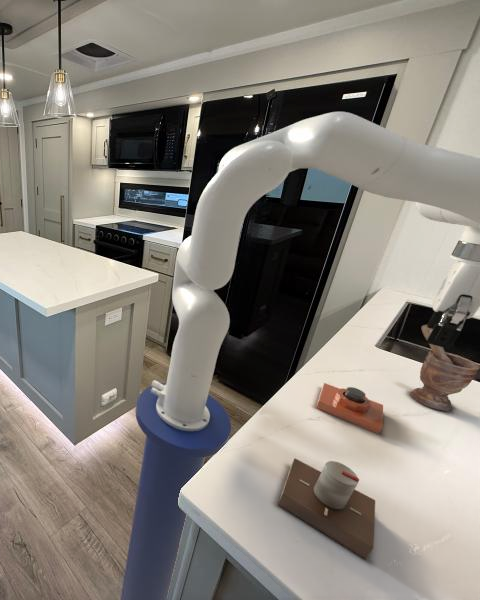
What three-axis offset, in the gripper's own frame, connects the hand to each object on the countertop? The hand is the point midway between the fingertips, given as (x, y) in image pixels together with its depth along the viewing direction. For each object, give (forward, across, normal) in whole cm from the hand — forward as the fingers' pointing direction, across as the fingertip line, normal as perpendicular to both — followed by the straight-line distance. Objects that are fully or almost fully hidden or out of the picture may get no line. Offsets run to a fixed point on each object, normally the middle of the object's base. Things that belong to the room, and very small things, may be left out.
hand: (437, 337), depth 62 cm
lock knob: (+22, +33, -6) cm, 40 cm away
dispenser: (+25, -2, -7) cm, 26 cm away
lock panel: (+25, +33, -6) cm, 42 cm away
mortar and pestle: (+25, -22, +6) cm, 34 cm away
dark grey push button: (+21, -2, -7) cm, 23 cm away
